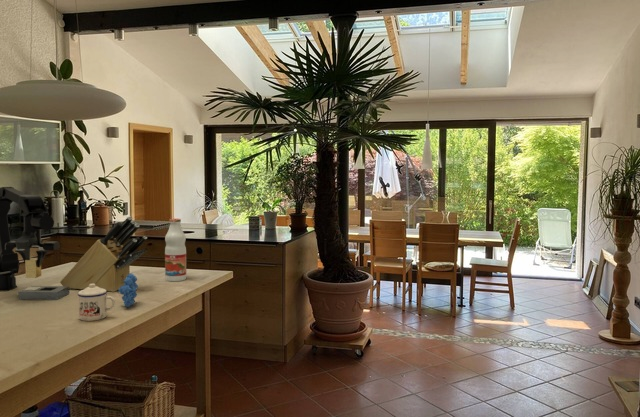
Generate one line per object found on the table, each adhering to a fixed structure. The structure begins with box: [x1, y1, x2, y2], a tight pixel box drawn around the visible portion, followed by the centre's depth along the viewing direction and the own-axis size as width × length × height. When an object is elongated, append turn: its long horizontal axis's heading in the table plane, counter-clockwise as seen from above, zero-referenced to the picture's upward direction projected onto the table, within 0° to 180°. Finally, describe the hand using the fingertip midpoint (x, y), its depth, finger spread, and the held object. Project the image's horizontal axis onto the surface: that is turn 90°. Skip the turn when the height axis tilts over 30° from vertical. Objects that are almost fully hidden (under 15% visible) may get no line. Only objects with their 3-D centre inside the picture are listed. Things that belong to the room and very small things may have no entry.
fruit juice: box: [164, 218, 187, 282], centre depth 233 cm, size 9×9×28 cm
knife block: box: [59, 215, 148, 293], centre depth 215 cm, size 11×35×31 cm, turn 78°
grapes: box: [117, 272, 139, 308], centre depth 189 cm, size 12×7×12 cm, turn 3°
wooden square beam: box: [24, 257, 42, 279], centre depth 201 cm, size 4×4×7 cm
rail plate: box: [17, 285, 71, 301], centre depth 202 cm, size 15×10×3 cm, turn 91°
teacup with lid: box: [77, 284, 116, 322], centre depth 174 cm, size 12×9×12 cm
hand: (33, 267), depth 201 cm, fingers closed on wooden square beam, 4 cm apart
